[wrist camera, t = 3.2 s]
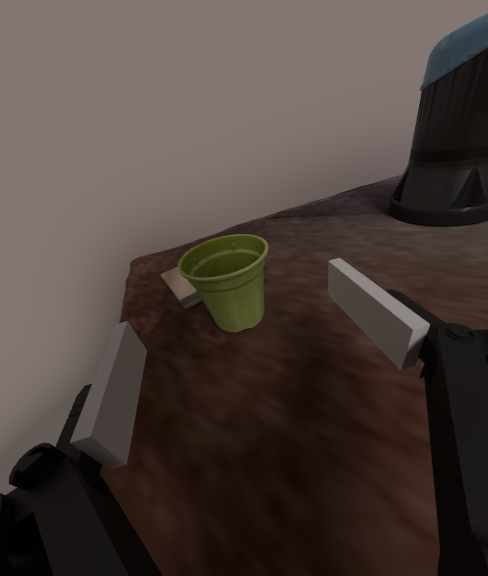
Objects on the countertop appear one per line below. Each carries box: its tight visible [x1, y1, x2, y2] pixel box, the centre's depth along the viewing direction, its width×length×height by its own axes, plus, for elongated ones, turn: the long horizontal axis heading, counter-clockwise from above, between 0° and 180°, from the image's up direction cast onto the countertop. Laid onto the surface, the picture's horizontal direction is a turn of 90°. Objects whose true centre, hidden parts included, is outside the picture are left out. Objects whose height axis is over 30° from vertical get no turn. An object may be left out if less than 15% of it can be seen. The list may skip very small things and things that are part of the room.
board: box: [161, 264, 266, 310], centre depth 38 cm, size 14×12×1 cm
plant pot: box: [178, 234, 268, 333], centre depth 26 cm, size 9×9×9 cm
